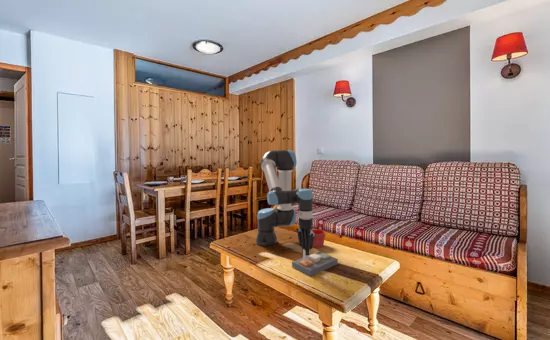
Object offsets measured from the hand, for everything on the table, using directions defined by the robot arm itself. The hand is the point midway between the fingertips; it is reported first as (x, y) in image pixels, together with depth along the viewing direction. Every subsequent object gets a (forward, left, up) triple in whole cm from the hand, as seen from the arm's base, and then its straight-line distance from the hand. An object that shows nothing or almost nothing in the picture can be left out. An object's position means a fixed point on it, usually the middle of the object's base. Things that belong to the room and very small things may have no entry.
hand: (305, 260), depth 143 cm
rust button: (0, 0, -4) cm, 4 cm away
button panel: (0, +7, -5) cm, 8 cm away
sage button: (0, +14, -4) cm, 14 cm away
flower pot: (-20, +30, -5) cm, 36 cm away
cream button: (0, +7, -2) cm, 7 cm away
